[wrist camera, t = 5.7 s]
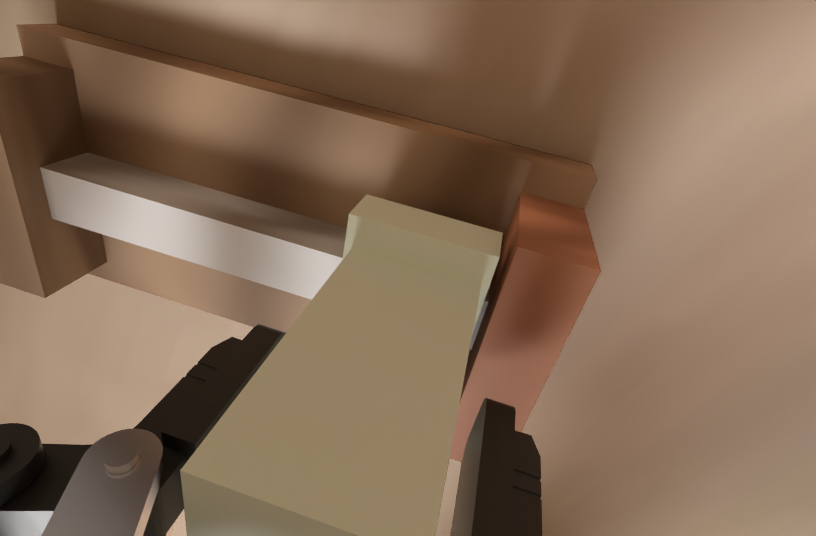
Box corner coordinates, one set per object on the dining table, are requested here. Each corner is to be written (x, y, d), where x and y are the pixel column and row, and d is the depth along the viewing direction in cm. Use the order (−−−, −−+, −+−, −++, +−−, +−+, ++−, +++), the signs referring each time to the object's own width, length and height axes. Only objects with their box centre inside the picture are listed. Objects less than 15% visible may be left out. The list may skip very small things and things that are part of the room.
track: (591, 164, 15) (619, 233, 10) (499, 380, 20) (490, 492, 15) (55, 24, 17) (-128, 27, 12) (98, 253, 22) (-19, 317, 17)
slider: (505, 209, 14) (464, 525, 5) (450, 370, 18) (373, 717, 9) (384, 175, 15) (161, 418, 6) (354, 340, 18) (190, 642, 9)
